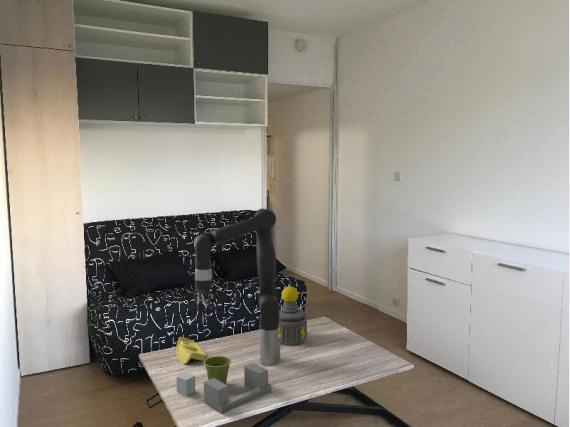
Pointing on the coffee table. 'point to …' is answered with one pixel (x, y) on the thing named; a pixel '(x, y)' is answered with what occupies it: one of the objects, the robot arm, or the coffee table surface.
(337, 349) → the coffee table surface
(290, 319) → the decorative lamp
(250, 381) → the block
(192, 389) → the block
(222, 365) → the plant pot
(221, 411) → the rail strip
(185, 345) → the plastic component
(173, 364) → the coffee table surface
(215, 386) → the block
